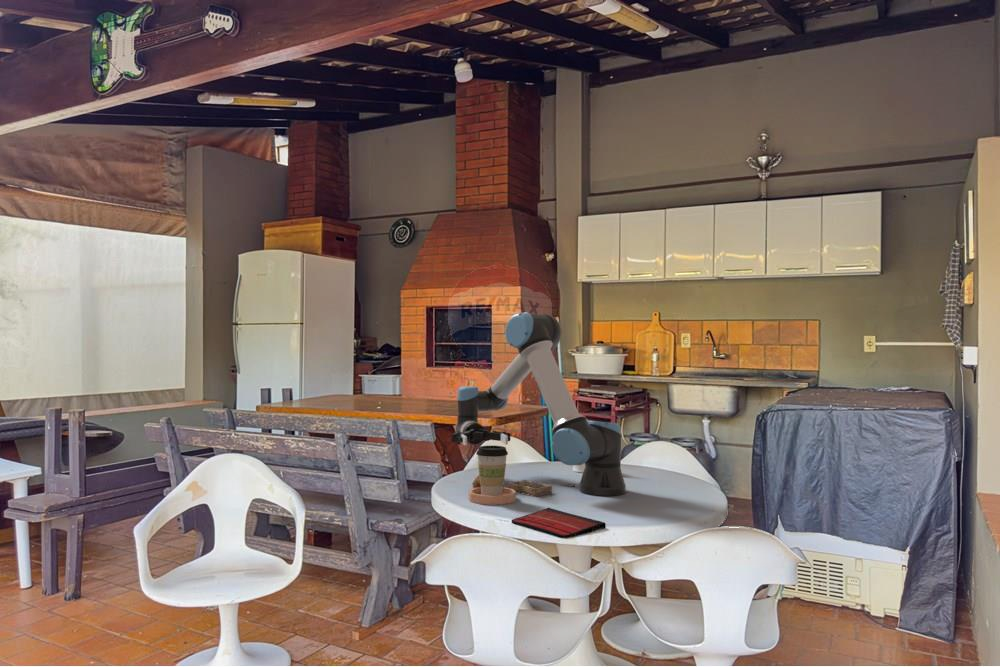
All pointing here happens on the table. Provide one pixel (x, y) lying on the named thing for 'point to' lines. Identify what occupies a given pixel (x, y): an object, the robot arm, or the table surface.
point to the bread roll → (477, 482)
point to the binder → (558, 523)
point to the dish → (506, 496)
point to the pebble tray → (530, 487)
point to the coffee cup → (492, 469)
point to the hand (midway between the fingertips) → (486, 440)
